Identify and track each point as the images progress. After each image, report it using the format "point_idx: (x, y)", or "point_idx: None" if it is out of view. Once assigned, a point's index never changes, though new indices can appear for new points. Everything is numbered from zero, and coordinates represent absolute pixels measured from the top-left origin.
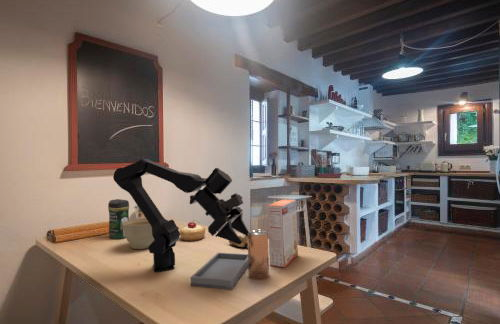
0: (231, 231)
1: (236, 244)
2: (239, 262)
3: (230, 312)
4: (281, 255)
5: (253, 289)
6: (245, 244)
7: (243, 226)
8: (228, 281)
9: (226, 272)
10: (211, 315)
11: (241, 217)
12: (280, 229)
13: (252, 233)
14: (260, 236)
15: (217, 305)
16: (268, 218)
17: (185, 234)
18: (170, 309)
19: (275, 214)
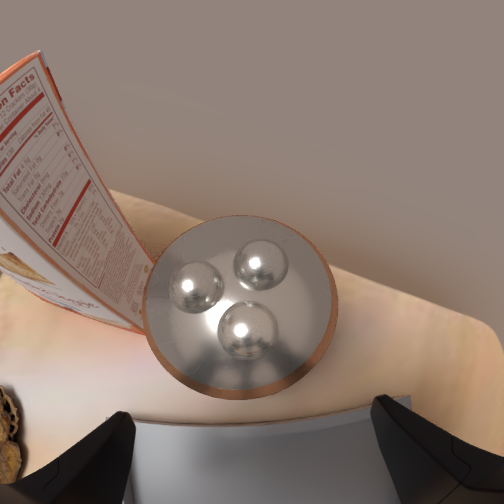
0: (479, 452)
1: (14, 471)
2: (161, 461)
3: (477, 331)
4: (147, 267)
5: (370, 333)
6: (10, 440)
7: (91, 471)
8: (409, 407)
9: (288, 479)
10: (496, 361)
11: (7, 496)
12: (93, 188)
13: (287, 329)
14: (314, 249)
15: (470, 377)
16: (8, 219)
17: None
18: (499, 453)
19: (26, 139)
